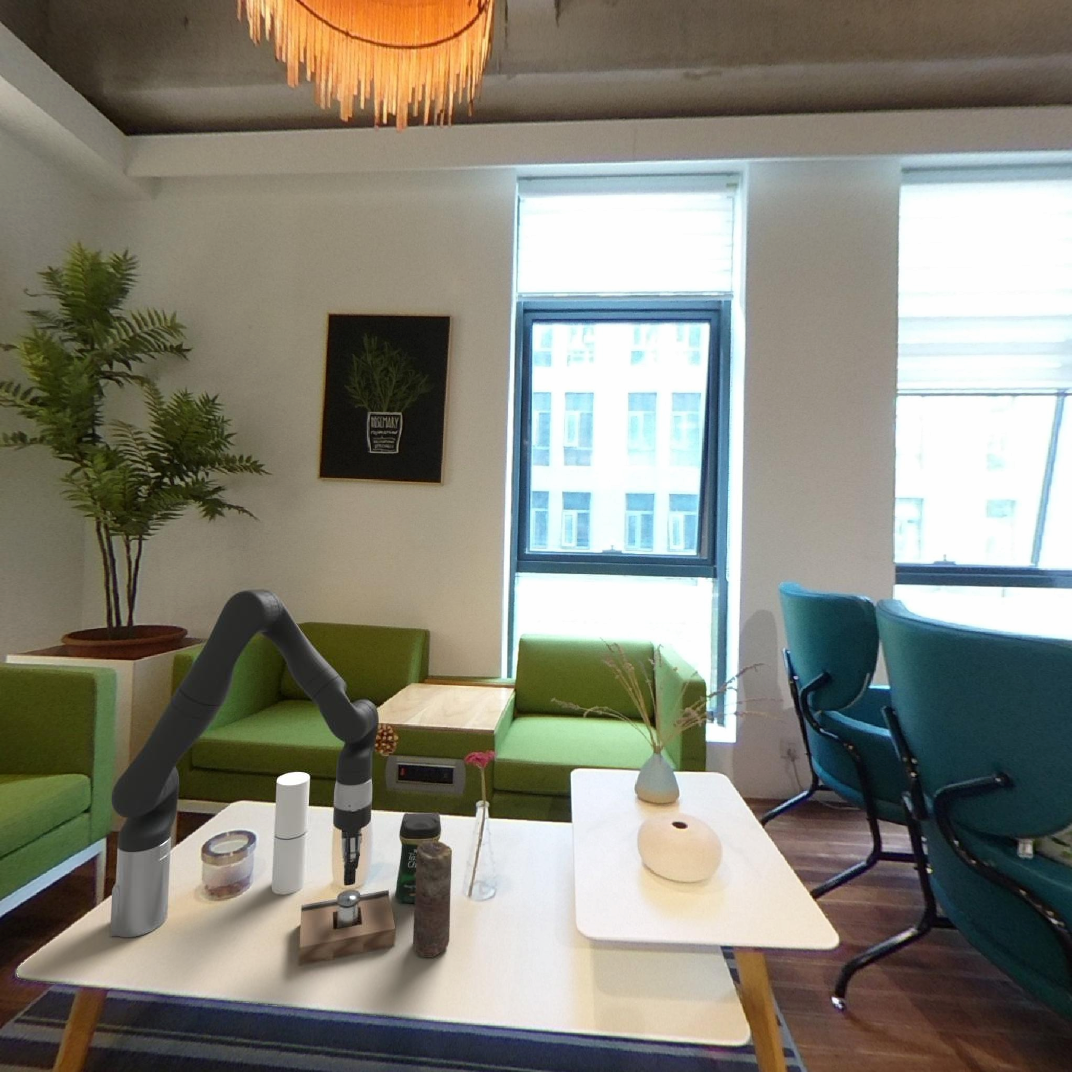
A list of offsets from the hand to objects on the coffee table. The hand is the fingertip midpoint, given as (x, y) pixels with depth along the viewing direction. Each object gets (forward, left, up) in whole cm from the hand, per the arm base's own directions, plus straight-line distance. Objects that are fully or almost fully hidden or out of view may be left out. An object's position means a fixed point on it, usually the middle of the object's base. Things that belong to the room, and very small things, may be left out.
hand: (349, 883), depth 118 cm
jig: (0, 0, -11) cm, 11 cm away
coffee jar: (+16, +9, -11) cm, 21 cm away
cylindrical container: (-12, +21, -11) cm, 27 cm away
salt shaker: (0, 0, -11) cm, 11 cm away
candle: (+16, -8, -11) cm, 21 cm away
